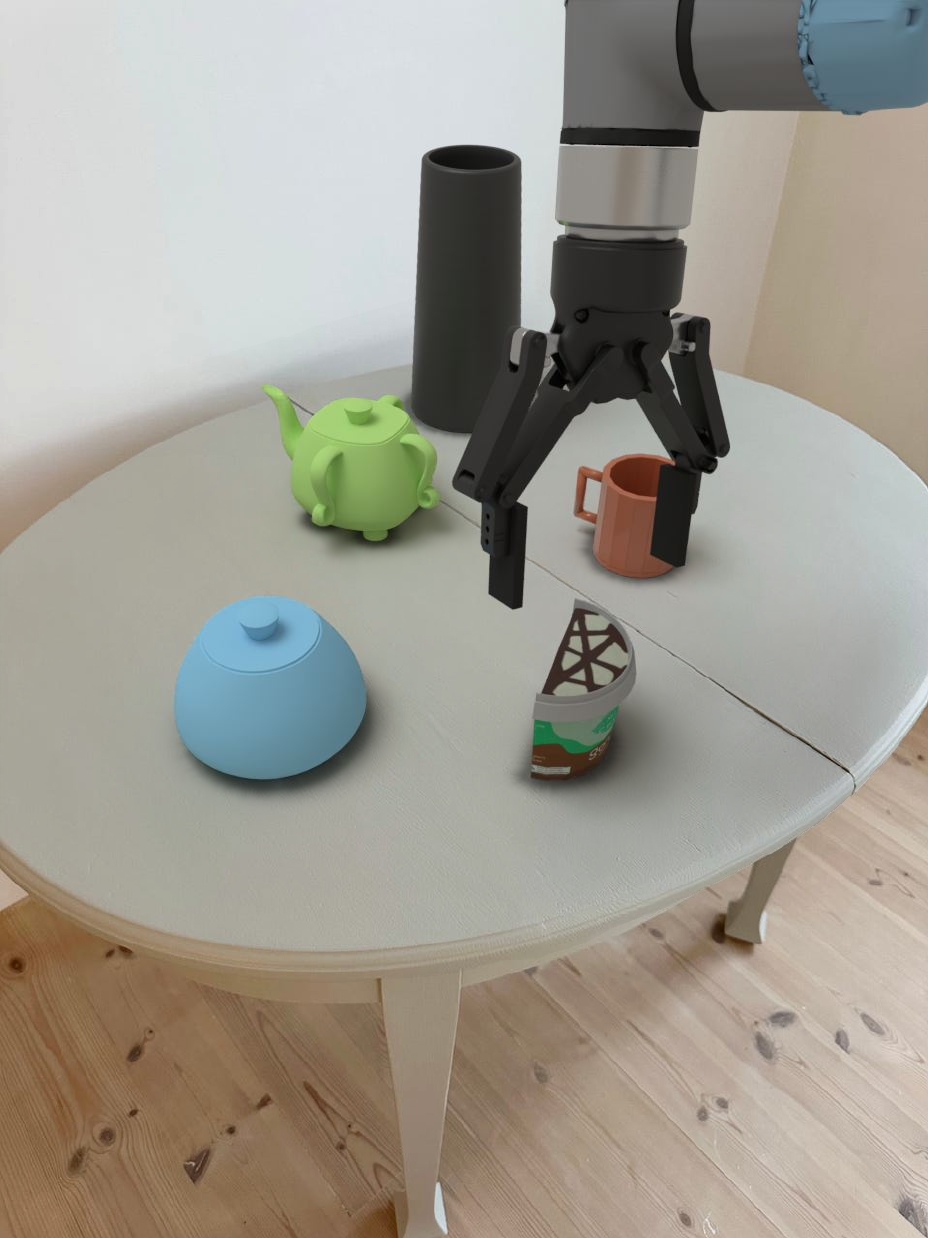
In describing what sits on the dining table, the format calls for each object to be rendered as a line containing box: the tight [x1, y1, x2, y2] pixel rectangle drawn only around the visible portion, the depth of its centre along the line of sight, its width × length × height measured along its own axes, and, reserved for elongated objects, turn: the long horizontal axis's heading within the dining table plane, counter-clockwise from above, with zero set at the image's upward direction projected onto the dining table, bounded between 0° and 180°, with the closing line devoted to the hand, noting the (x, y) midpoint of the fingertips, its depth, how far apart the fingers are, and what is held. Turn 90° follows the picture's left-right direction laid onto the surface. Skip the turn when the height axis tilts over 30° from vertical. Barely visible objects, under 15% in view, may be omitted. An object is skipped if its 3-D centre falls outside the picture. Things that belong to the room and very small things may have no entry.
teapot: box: [260, 384, 441, 542], centre depth 97 cm, size 16×14×13 cm
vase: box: [410, 144, 523, 433], centre depth 110 cm, size 14×14×29 cm
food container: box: [530, 598, 637, 781], centre depth 73 cm, size 12×6×10 cm, turn 161°
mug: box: [572, 453, 675, 579], centre depth 94 cm, size 11×8×9 cm
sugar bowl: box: [173, 595, 367, 780], centre depth 74 cm, size 15×15×12 cm
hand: (590, 580), depth 63 cm, fingers open, 13 cm apart
